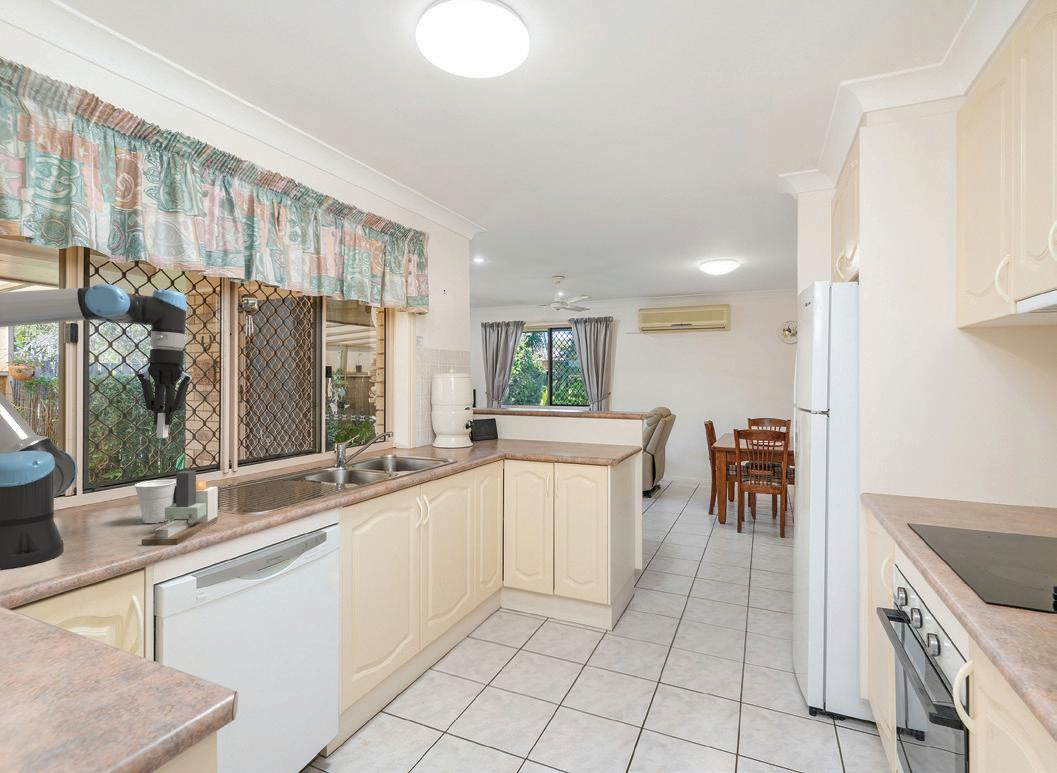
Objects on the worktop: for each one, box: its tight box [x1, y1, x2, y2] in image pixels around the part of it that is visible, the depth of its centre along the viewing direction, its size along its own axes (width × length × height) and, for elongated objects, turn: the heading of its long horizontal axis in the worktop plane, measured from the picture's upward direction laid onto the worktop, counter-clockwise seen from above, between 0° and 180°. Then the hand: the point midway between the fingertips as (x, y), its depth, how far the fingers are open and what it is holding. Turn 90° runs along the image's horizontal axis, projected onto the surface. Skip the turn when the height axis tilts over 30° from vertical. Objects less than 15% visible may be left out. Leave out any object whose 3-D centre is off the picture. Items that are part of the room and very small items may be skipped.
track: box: [141, 516, 218, 546], centre depth 142 cm, size 8×22×4 cm, turn 7°
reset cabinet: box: [196, 486, 219, 522], centre depth 150 cm, size 8×6×8 cm
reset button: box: [196, 480, 207, 491], centre depth 150 cm, size 4×4×5 cm
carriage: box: [165, 470, 206, 523], centre depth 143 cm, size 8×5×13 cm, turn 97°
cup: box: [134, 479, 176, 524], centre depth 152 cm, size 10×10×11 cm
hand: (162, 437), depth 143 cm, fingers closed
